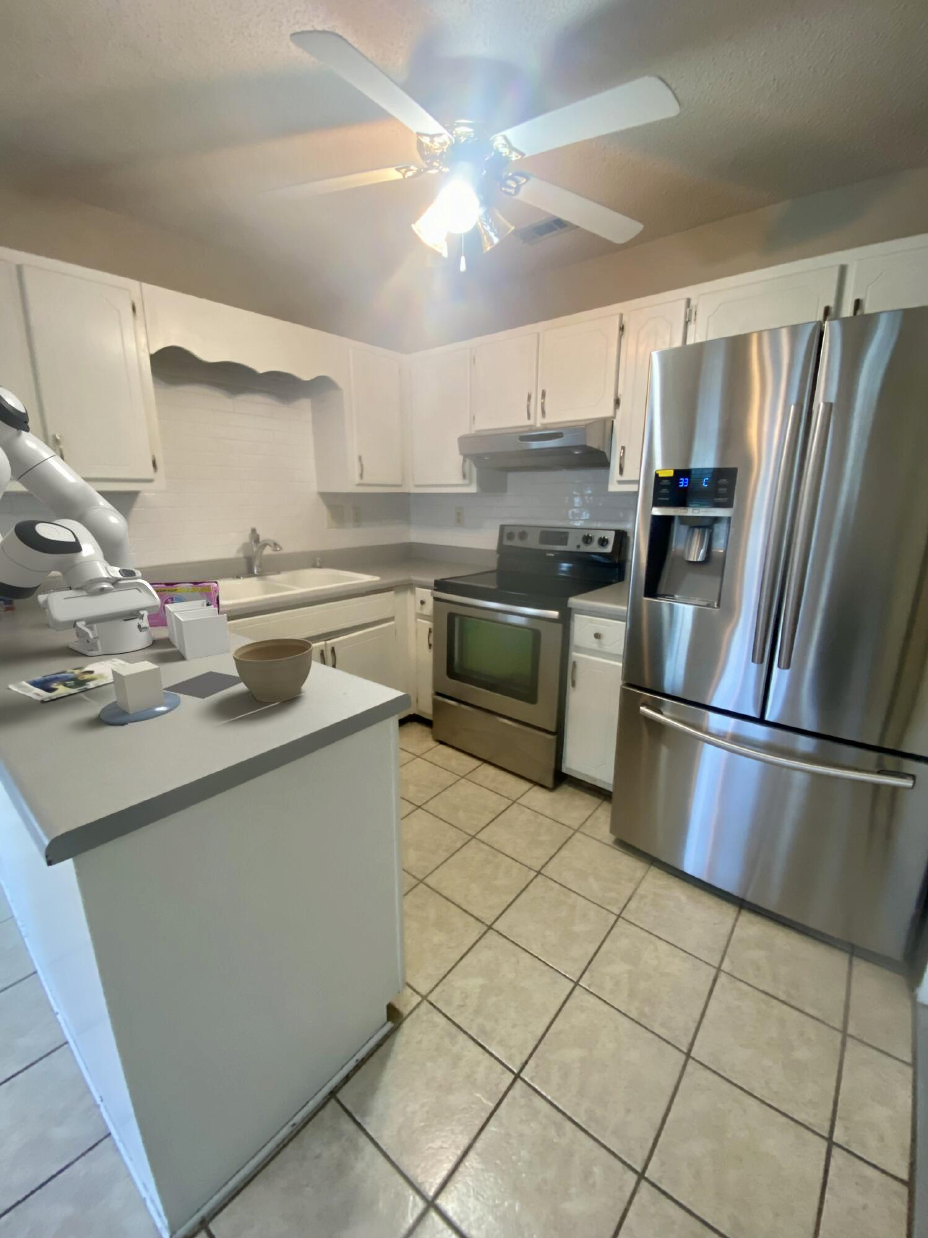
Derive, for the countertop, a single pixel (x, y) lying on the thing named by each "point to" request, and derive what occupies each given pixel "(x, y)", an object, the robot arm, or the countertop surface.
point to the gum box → (183, 597)
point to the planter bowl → (274, 667)
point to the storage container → (197, 629)
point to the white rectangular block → (138, 686)
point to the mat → (205, 684)
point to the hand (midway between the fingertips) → (120, 635)
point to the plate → (121, 717)
